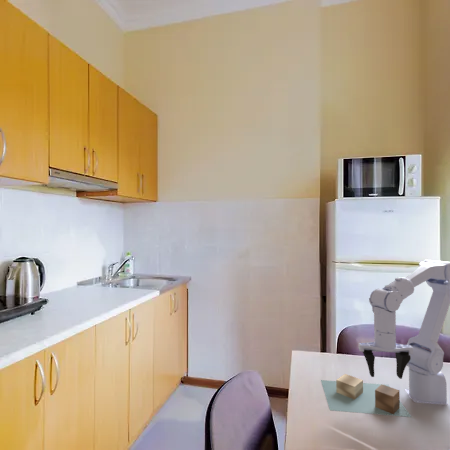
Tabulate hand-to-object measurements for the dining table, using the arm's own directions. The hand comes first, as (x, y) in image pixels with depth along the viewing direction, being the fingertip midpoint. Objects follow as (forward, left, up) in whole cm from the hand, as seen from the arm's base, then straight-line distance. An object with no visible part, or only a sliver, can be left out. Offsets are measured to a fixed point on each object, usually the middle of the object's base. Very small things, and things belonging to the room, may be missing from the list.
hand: (385, 376), depth 92 cm
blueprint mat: (+6, -5, -9) cm, 12 cm away
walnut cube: (0, 0, -9) cm, 9 cm away
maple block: (+9, -7, -9) cm, 14 cm away
